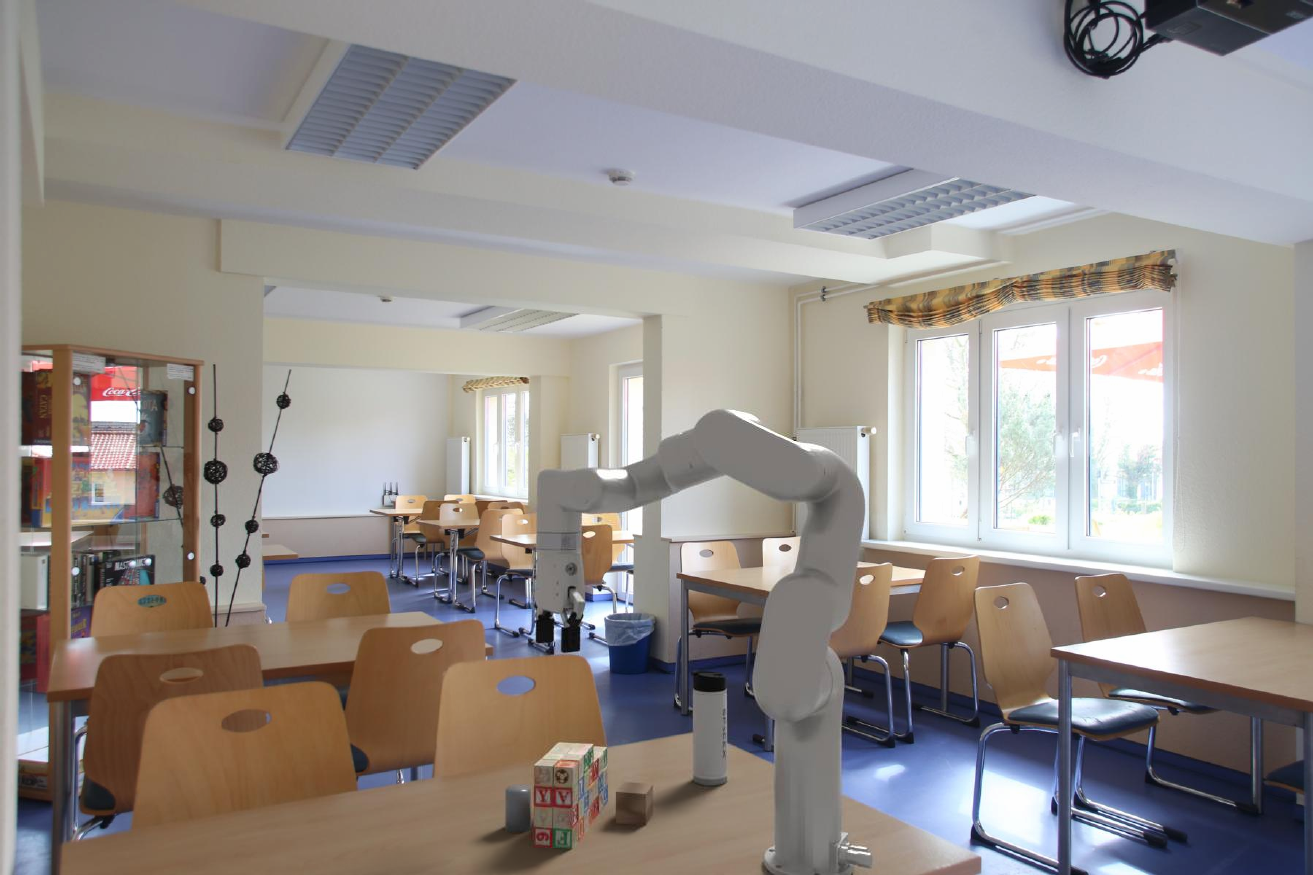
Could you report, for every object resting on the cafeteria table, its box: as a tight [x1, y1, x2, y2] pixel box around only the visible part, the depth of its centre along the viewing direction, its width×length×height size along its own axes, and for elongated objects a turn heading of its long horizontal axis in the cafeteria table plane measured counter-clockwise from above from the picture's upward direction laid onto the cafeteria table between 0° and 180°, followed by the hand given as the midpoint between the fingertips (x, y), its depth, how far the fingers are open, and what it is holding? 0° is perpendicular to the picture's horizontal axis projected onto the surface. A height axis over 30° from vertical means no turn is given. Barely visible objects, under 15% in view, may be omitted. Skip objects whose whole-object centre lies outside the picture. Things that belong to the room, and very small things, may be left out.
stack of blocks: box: [532, 741, 609, 850], centre depth 144 cm, size 21×6×12 cm, turn 169°
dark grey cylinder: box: [504, 784, 532, 834], centre depth 142 cm, size 4×4×6 cm
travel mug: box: [690, 670, 728, 787], centre depth 165 cm, size 6×7×20 cm
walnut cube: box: [615, 781, 654, 826], centre depth 146 cm, size 5×5×5 cm
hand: (557, 647), depth 148 cm, fingers open, 9 cm apart
